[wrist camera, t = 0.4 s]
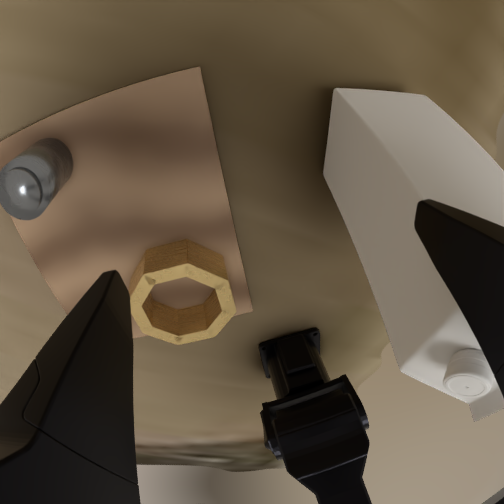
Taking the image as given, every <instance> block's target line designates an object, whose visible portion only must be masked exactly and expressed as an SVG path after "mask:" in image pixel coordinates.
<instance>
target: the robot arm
mask: <svg viewBox="0 0 504 504" xmlns="http://www.w3.org/2000/svg"><path fill="white" fill-rule="evenodd" d="M414 227H415V231H416V233H417V234H418V236H419V238H420V240H421V242H422V244H423V245H424V247H425V249H426V251H427V253H428V255H429V257H430V259H431V261H432V262H433V264H434V266H435V268H436V270H437V271H438V273H439V275H440V276H441V278H442V280H443V281H444V283H445V284H446V286H447V288H448V289H449V291H450V293H451V294H452V296H453V298H454V299H455V301H456V303H457V305H458V306H459V308H460V310H461V312H462V313H463V315H464V317H465V319H466V321H467V323H468V324H469V326H470V328H471V330H472V332H473V334H474V336H475V338H476V339H477V341H478V343H479V345H480V347H481V349H482V351H483V353H484V355H485V357H486V360H487V362H488V364H489V366H490V368H491V370H492V372H493V374H494V377H495V379H496V382H497V384H498V386H499V388H500V391H501V393H502V396H503V398H504V227H503V226H501V225H498V224H496V223H493V222H491V221H489V220H486V219H484V218H481V217H478V216H476V215H473V214H471V213H468V212H465V211H463V210H460V209H457V208H455V207H452V206H449V205H446V204H443V203H441V202H438V201H435V200H432V199H425V200H421V201H419V202H418V204H417V208H416V214H415V220H414ZM259 350H260V354H261V358H262V363H263V367H264V371H265V375H266V377H267V378H271V380H272V384H273V387H274V391H275V394H276V397H277V400H274V401H271V402H265V403H262V406H263V410H262V411H261V412H260V415H261V418H262V423H263V428H264V444H265V447H266V448H267V449H269V450H271V451H272V452H273V454H275V456H276V458H277V460H282V459H283V460H284V463H285V466H286V469H287V472H288V473H289V474H290V475H292V476H293V477H294V478H295V479H297V480H298V481H299V482H300V483H301V484H303V485H304V486H305V487H306V488H308V489H309V490H311V491H312V492H313V493H314V494H315V495H316V498H317V501H318V504H372V503H371V500H370V498H369V495H368V492H367V489H366V487H365V484H364V481H363V479H362V475H363V471H364V467H365V463H366V458H367V453H368V449H369V439H368V436H367V434H366V431H365V430H366V429H368V428H369V422H368V418H367V415H366V412H365V410H364V407H363V405H362V403H361V401H360V399H359V397H358V395H357V393H356V392H355V390H354V388H353V386H352V385H351V383H350V381H349V379H348V378H347V376H346V374H344V375H342V376H340V377H339V378H336V379H334V380H330V378H329V376H328V373H327V371H326V369H325V366H324V364H323V362H322V359H321V357H320V332H319V330H318V329H317V328H314V329H311V330H308V331H304V332H301V333H297V334H294V335H290V336H286V337H283V338H279V339H275V340H272V341H268V342H264V343H261V344H260V345H259ZM35 358H36V359H34V360H33V361H32V363H31V364H30V366H29V367H28V368H27V370H26V371H25V372H24V374H23V375H22V377H21V378H20V379H19V381H18V382H17V383H16V385H15V386H14V387H13V389H12V390H11V391H10V393H9V394H8V395H7V397H6V398H5V399H4V400H3V402H2V403H1V404H0V504H140V496H139V486H138V485H137V484H138V478H137V467H136V453H135V437H134V412H133V333H132V320H131V304H130V294H129V291H128V289H127V287H126V285H125V283H124V281H123V279H122V277H121V275H120V274H119V272H118V271H117V270H110V271H106V272H103V273H102V274H101V275H100V276H99V278H98V279H97V280H96V281H95V282H94V283H93V285H92V286H91V287H90V288H89V289H88V291H87V292H86V293H85V294H84V295H83V297H82V298H81V299H80V300H79V301H78V303H77V304H76V305H75V306H74V308H73V309H72V310H71V311H70V313H69V314H68V315H67V316H66V318H65V319H64V320H63V321H62V323H61V324H60V325H59V327H58V328H57V329H56V330H55V332H54V333H53V334H52V336H51V337H50V338H49V340H48V341H47V342H46V344H45V345H44V346H43V348H42V349H41V350H40V352H39V353H38V354H37V356H36V357H35ZM482 504H504V488H502V489H501V490H500V491H499V492H497V493H496V494H495V495H493V496H492V497H490V498H489V499H488V500H486V501H485V502H483V503H482Z"/></svg>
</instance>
